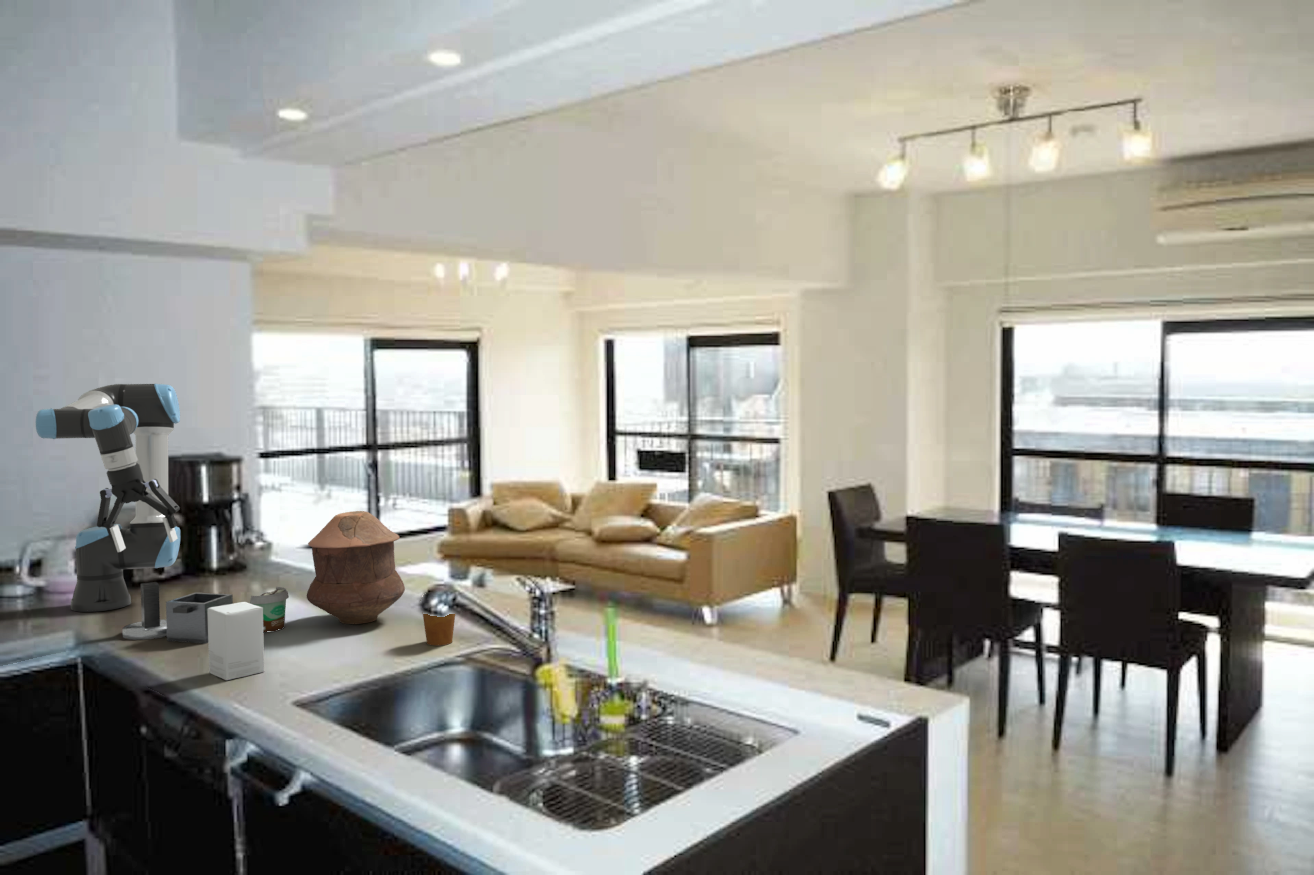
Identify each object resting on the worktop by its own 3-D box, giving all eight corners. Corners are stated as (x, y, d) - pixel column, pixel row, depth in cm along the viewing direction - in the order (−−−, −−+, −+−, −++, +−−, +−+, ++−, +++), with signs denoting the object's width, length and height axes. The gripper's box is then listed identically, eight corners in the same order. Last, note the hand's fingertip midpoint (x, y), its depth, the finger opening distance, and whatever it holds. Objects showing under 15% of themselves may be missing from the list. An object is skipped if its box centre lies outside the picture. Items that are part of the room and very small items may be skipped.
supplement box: (265, 672, 219) (264, 606, 218) (226, 681, 212) (224, 614, 211) (247, 664, 225) (245, 600, 224) (208, 673, 218) (206, 607, 217)
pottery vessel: (423, 621, 265) (421, 512, 263) (334, 639, 247) (332, 522, 245) (376, 605, 283) (374, 503, 281) (290, 620, 265) (288, 511, 263)
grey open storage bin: (201, 628, 257) (200, 590, 256) (238, 630, 255) (237, 592, 254) (161, 643, 242) (160, 603, 242) (200, 645, 240) (199, 605, 240)
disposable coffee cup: (425, 649, 237) (424, 601, 237) (416, 640, 246) (415, 593, 245) (463, 644, 242) (463, 597, 241) (453, 635, 250) (452, 589, 250)
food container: (271, 635, 250) (271, 597, 249) (250, 634, 251) (249, 596, 250) (298, 623, 262) (298, 587, 261) (278, 622, 263) (277, 586, 263)
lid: (127, 643, 243) (126, 591, 242) (118, 632, 253) (116, 583, 252) (184, 634, 251) (182, 585, 250) (172, 624, 261) (171, 576, 260)
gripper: (65, 479, 239) (92, 559, 244) (164, 461, 239) (189, 541, 244) (81, 471, 247) (107, 549, 251) (177, 453, 246) (201, 531, 251)
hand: (147, 545), depth 248 cm, fingers open, 13 cm apart
